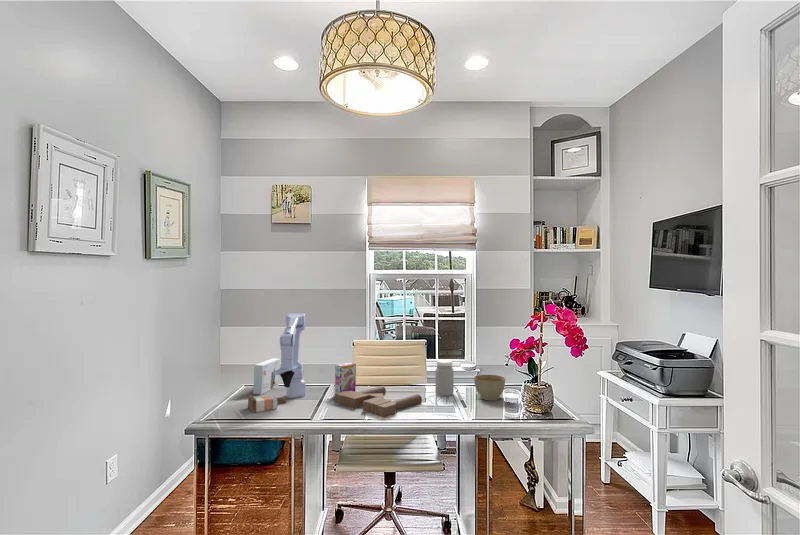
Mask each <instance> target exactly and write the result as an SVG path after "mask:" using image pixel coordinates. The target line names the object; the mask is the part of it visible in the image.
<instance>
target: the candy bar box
mask: <svg viewBox="0 0 800 535" xmlns="http://www.w3.org/2000/svg"><path fill="white" fill-rule="evenodd" d="M334 368H335V369H334V395H335V394H336V393H340V392H344V391H354V392H356V381H357V380H356V376H357V370H356V369H357V363H354V362H347V363H341V364H340V363H339V364H335V365H334Z"/></svg>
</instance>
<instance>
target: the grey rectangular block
mask: <svg viewBox="0 0 800 535" xmlns="http://www.w3.org/2000/svg"><path fill="white" fill-rule="evenodd" d="M270 397H271V398H272V399H273V409H272V410H278V404H277V399H276V398H277V397H275V395H273V396H270Z"/></svg>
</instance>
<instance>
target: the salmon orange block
mask: <svg viewBox="0 0 800 535" xmlns="http://www.w3.org/2000/svg"><path fill="white" fill-rule="evenodd" d="M271 397H272V396H270V395H267V396H266V395H265V396H261V397H260V398H262V399H263V400H264V411H268V410H274V409H273V399H272V398H271Z"/></svg>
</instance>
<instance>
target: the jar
mask: <svg viewBox="0 0 800 535" xmlns="http://www.w3.org/2000/svg"><path fill="white" fill-rule="evenodd" d="M454 372H455V371H454V369H453V360H450V359H438V360H436V368H435V390H434V391H435V394H436V395H437V394H438V395H440V397H450V395H451V396H452V395H453V394H454V391H455V390H454V387H455V385H454V384H455V383H454V382H455V381H454V376H455V374H454ZM438 395H437V396H438Z"/></svg>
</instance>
